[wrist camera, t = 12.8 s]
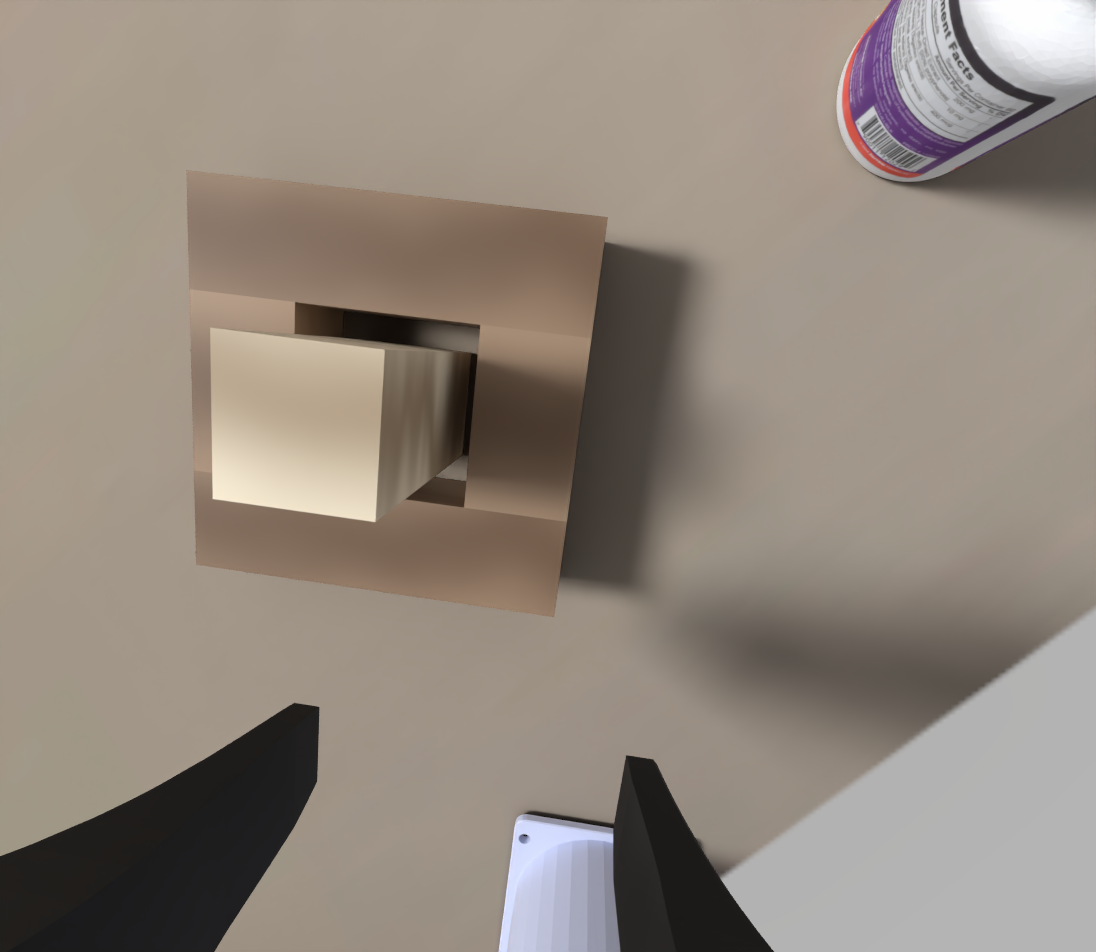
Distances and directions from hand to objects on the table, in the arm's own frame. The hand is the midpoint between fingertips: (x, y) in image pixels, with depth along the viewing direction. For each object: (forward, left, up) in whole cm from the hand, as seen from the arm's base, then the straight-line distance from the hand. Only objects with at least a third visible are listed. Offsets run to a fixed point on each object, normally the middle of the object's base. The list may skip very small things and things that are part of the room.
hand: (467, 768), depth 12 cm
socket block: (+7, +5, -10) cm, 13 cm away
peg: (+7, +5, -10) cm, 13 cm away
